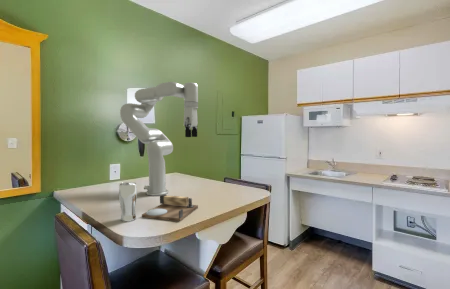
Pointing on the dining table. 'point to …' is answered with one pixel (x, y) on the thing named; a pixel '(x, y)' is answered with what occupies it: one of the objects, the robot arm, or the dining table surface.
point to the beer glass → (128, 200)
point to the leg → (173, 200)
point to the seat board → (174, 211)
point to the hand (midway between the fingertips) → (191, 136)
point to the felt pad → (156, 212)
